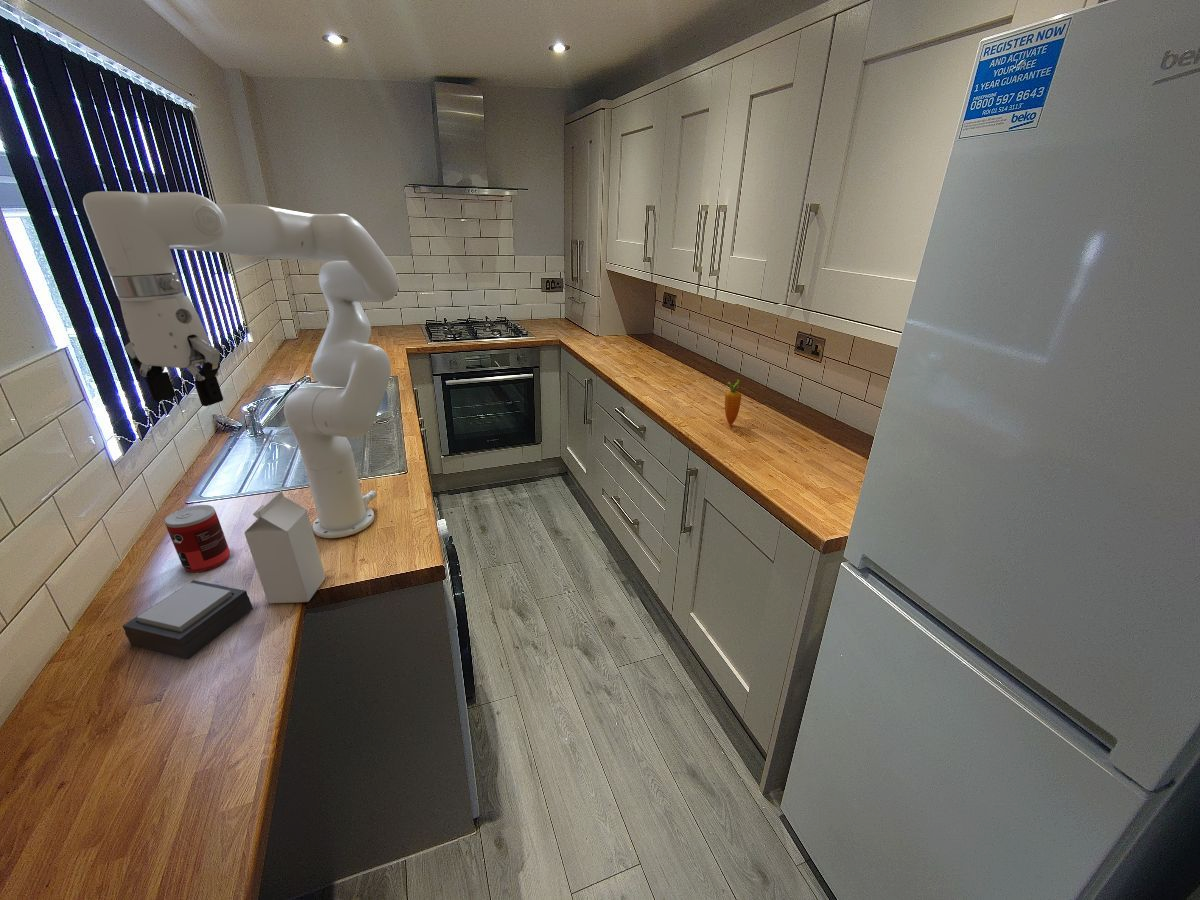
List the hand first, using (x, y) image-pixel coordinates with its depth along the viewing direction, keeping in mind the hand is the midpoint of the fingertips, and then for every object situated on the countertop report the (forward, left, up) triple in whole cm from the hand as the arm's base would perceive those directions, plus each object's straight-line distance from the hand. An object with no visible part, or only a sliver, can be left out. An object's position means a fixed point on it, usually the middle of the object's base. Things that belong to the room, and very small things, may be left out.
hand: (188, 401), depth 82 cm
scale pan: (+10, -2, -33) cm, 35 cm away
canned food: (-5, -17, -37) cm, 41 cm away
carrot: (-106, +81, -37) cm, 138 cm away
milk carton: (-2, +8, -37) cm, 38 cm away
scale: (+10, -2, -37) cm, 38 cm away
